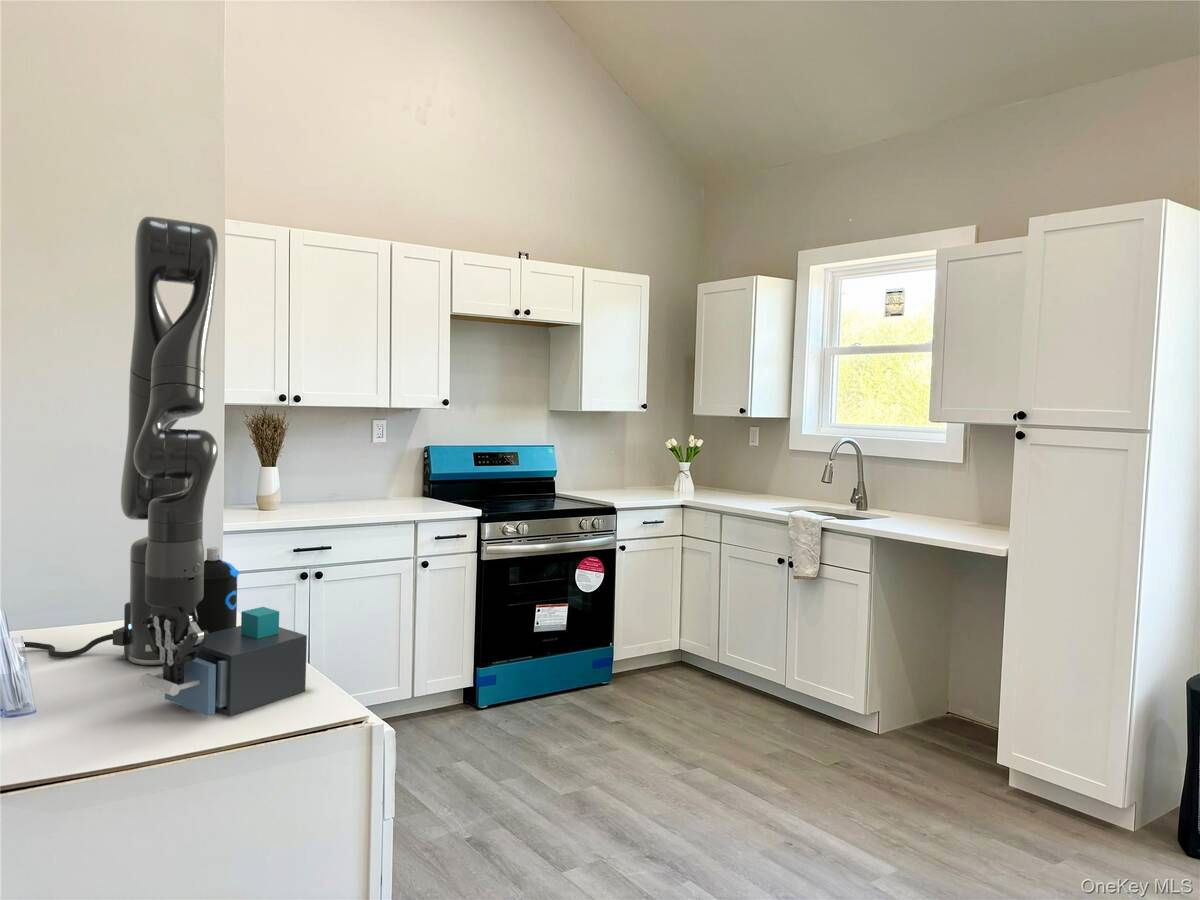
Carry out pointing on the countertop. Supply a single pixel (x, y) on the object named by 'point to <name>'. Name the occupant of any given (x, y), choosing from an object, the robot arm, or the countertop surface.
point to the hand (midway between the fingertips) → (173, 687)
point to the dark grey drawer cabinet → (259, 667)
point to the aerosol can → (218, 594)
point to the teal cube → (259, 622)
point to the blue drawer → (196, 684)
